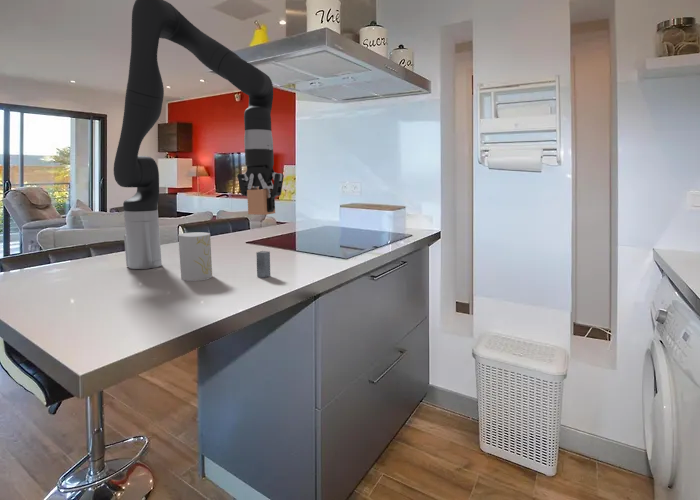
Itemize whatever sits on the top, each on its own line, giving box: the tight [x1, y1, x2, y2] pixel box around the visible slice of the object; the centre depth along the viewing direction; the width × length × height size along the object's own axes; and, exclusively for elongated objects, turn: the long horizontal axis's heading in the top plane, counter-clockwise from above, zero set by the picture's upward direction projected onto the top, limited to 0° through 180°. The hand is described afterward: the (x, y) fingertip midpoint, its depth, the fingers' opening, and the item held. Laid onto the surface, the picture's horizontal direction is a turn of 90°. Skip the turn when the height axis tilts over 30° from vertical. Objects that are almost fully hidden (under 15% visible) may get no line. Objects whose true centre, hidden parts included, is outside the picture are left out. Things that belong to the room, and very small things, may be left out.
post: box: [255, 250, 271, 279], centre depth 118 cm, size 3×3×7 cm
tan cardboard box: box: [246, 188, 276, 216], centre depth 116 cm, size 5×5×7 cm
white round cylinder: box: [177, 231, 213, 282], centre depth 116 cm, size 8×8×12 cm
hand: (261, 211), depth 116 cm, fingers closed on tan cardboard box, 5 cm apart
